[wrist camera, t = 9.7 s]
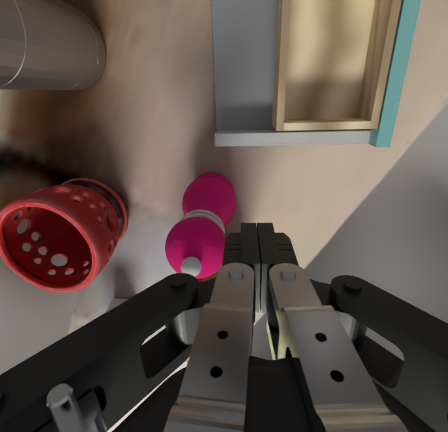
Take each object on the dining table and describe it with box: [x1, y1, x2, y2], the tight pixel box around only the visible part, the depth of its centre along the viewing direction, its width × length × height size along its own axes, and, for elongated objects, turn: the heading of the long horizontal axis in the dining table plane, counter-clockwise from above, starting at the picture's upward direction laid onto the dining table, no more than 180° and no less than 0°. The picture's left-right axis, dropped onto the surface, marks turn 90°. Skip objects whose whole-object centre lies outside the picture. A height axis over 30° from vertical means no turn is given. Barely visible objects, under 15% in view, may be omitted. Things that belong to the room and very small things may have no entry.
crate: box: [272, 0, 402, 131], centre depth 30 cm, size 11×14×5 cm
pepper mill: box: [165, 173, 236, 279], centre depth 32 cm, size 7×7×20 cm
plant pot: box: [0, 178, 128, 292], centre depth 38 cm, size 13×13×12 cm
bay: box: [212, 0, 421, 147], centre depth 31 cm, size 20×18×6 cm
